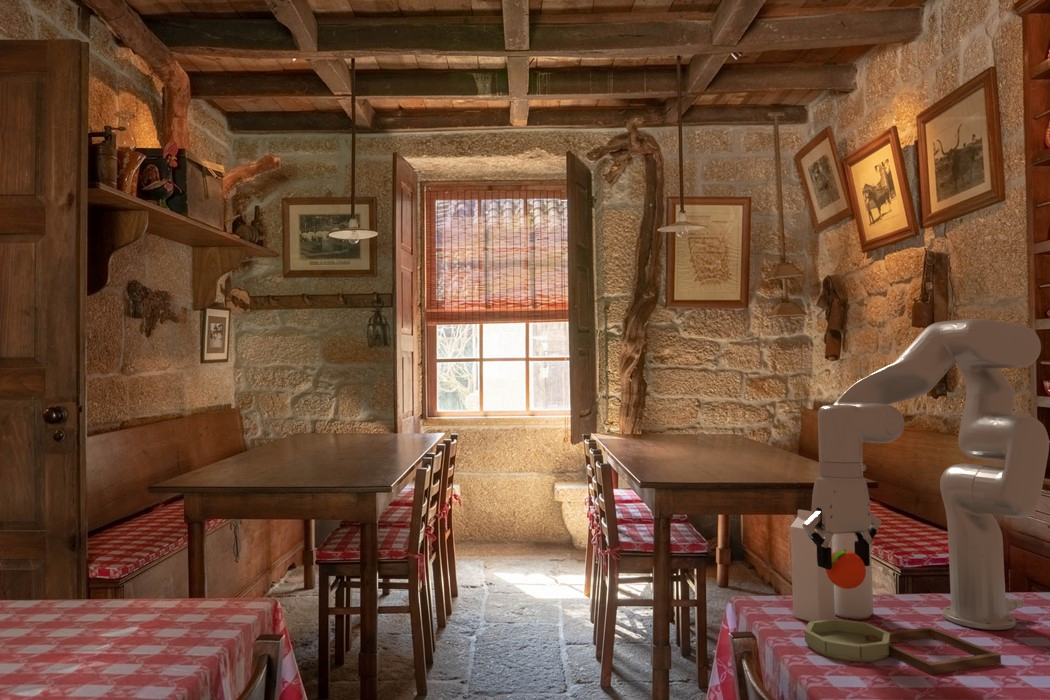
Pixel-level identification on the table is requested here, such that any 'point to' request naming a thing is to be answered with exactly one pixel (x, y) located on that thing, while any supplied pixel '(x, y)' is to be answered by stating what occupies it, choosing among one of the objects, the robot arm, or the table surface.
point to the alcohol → (855, 599)
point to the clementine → (846, 569)
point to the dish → (847, 640)
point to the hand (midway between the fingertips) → (843, 565)
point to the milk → (809, 576)
